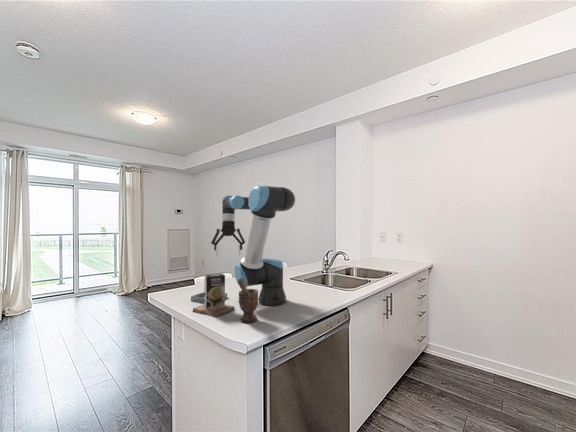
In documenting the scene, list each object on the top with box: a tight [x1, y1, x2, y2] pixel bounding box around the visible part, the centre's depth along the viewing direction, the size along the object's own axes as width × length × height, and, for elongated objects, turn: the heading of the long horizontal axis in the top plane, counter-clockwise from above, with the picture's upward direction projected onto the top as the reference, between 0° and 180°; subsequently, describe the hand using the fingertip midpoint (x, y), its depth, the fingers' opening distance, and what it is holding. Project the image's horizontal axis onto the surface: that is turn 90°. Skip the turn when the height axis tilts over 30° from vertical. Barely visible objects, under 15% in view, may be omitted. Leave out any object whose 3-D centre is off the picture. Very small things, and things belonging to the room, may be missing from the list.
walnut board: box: [192, 304, 235, 318], centre depth 133 cm, size 16×12×2 cm
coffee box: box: [203, 273, 226, 310], centre depth 134 cm, size 9×6×16 cm
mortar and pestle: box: [237, 278, 259, 324], centre depth 119 cm, size 12×9×20 cm
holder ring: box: [190, 291, 228, 304], centre depth 152 cm, size 14×14×2 cm
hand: (228, 255), depth 163 cm, fingers open, 13 cm apart
